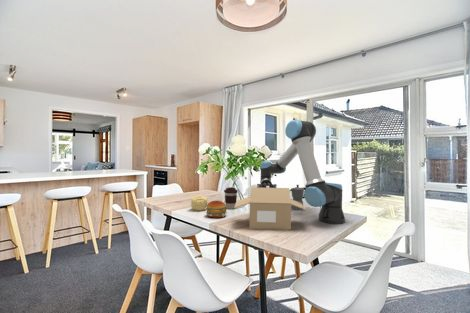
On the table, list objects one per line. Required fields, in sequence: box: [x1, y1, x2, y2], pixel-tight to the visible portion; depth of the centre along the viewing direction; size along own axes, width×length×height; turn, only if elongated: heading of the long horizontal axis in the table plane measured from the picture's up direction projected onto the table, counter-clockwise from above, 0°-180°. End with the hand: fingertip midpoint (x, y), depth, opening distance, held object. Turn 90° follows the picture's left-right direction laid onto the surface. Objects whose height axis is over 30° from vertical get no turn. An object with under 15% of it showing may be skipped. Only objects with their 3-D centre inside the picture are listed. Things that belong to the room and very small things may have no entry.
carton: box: [233, 196, 308, 231], centre depth 140 cm, size 39×27×14 cm
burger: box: [205, 200, 228, 219], centre depth 154 cm, size 13×14×10 cm
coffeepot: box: [289, 184, 306, 211], centre depth 175 cm, size 15×9×18 cm, turn 118°
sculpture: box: [190, 194, 208, 212], centre depth 170 cm, size 11×12×11 cm
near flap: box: [250, 186, 291, 204], centre depth 129 cm, size 21×9×1 cm
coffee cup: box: [223, 186, 238, 210], centre depth 176 cm, size 10×10×15 cm
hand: (268, 189), depth 139 cm, fingers closed
